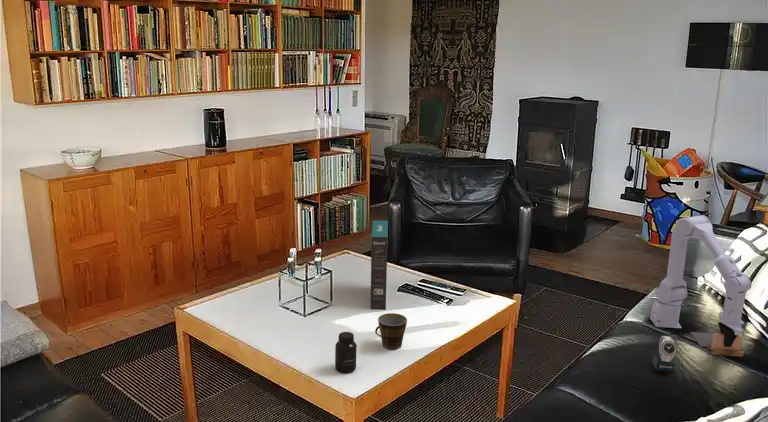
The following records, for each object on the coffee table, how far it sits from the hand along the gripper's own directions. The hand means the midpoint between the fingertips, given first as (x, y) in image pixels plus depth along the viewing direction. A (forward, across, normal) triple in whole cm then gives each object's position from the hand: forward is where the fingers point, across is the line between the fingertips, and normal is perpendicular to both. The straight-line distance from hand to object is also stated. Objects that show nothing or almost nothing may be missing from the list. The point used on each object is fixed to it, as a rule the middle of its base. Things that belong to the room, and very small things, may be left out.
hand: (726, 345), depth 218 cm
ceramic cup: (+3, -15, +116) cm, 117 cm away
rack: (+3, 0, 0) cm, 3 cm away
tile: (+2, 0, 0) cm, 2 cm away
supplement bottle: (+3, -32, +128) cm, 132 cm away
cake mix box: (+3, +26, +125) cm, 128 cm away
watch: (+3, -15, +25) cm, 29 cm away
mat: (+3, +8, 0) cm, 9 cm away
